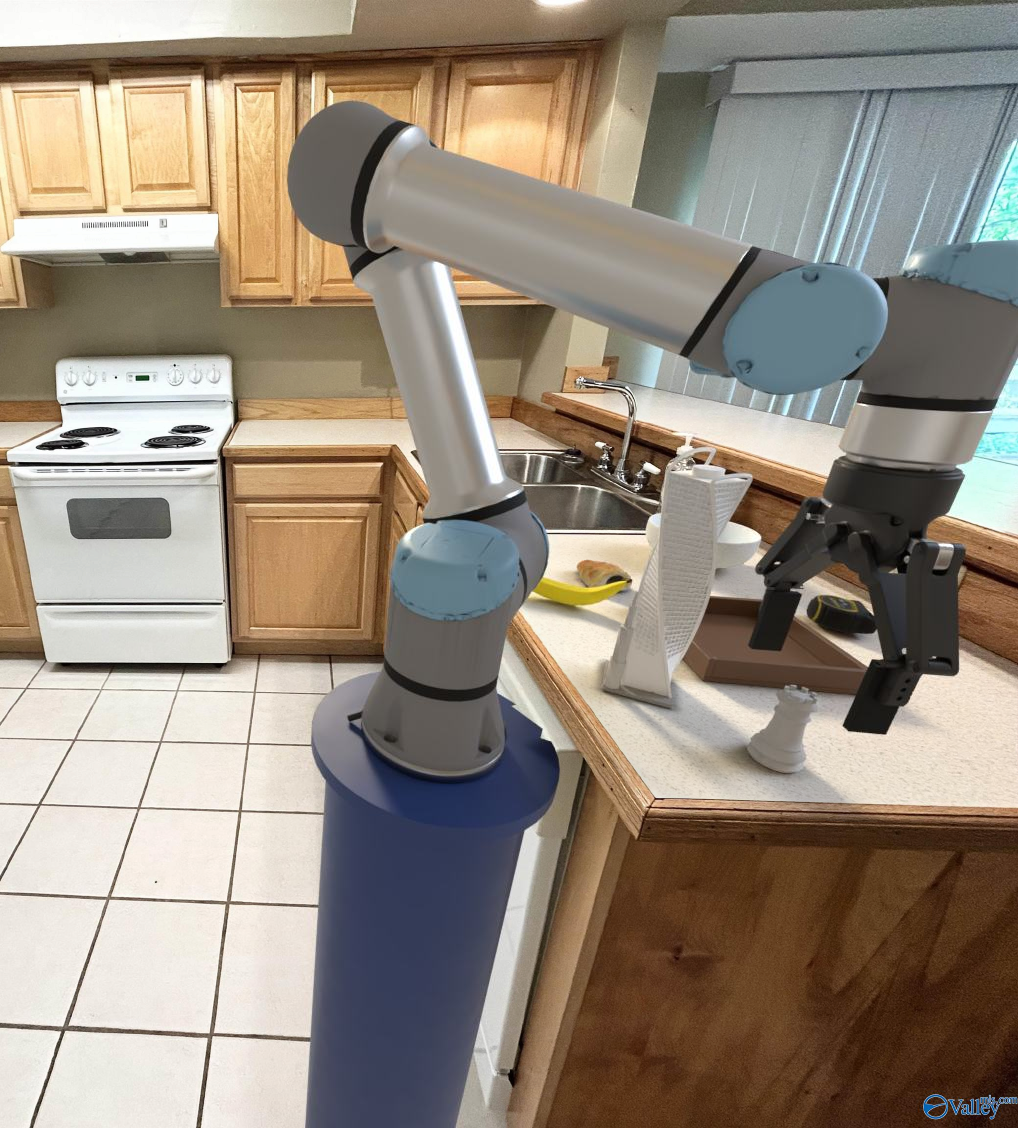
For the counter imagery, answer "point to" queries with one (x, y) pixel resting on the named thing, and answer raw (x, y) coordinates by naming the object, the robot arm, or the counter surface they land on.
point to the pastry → (601, 574)
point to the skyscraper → (674, 581)
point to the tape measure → (841, 614)
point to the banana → (577, 592)
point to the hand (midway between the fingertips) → (808, 685)
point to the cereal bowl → (720, 542)
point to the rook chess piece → (785, 731)
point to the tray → (767, 652)
